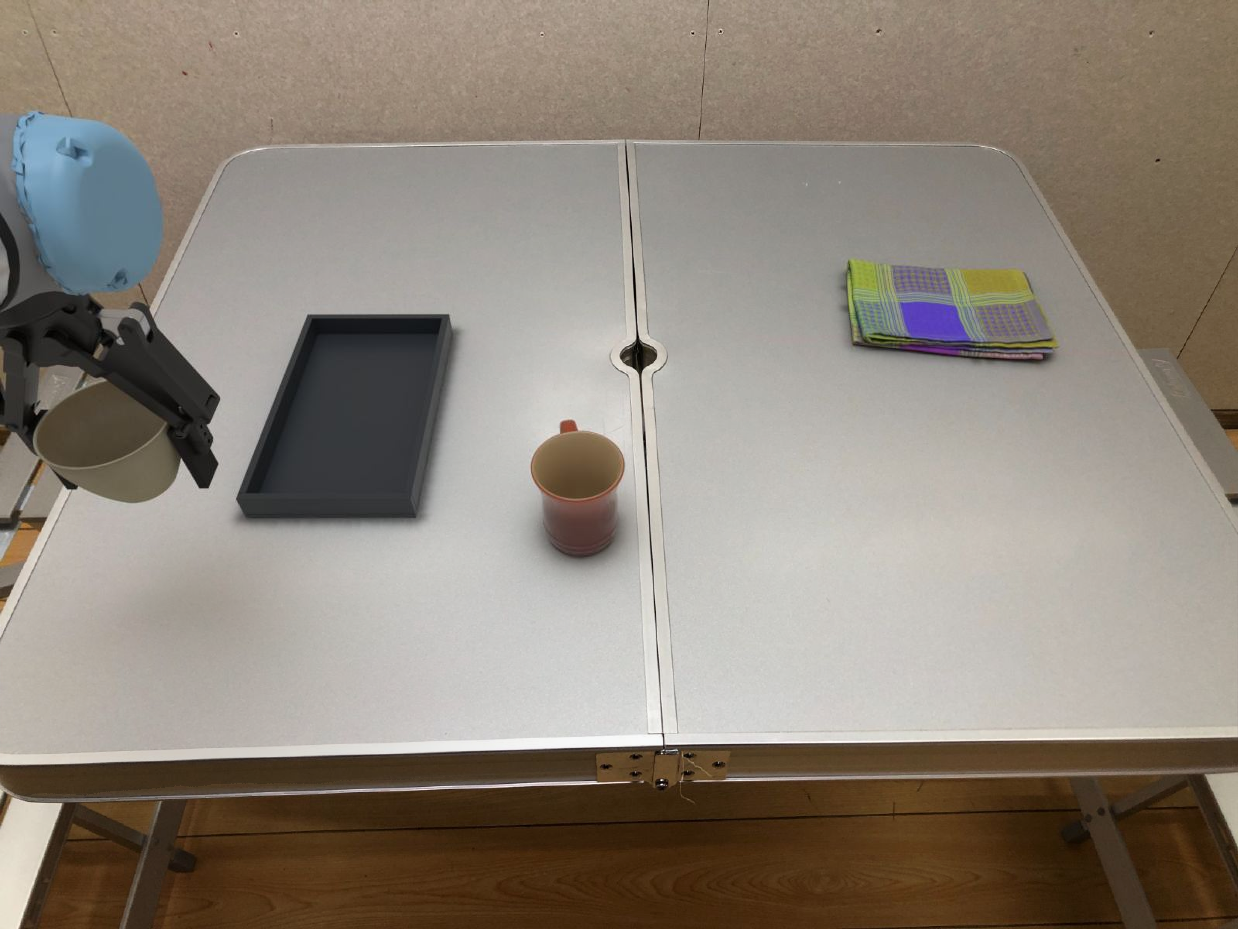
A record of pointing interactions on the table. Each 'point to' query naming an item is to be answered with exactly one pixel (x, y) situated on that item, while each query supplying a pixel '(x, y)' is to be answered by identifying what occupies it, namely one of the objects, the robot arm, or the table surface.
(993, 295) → the dish towel
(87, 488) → the flower pot
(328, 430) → the tray
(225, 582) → the table surface
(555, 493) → the mug
